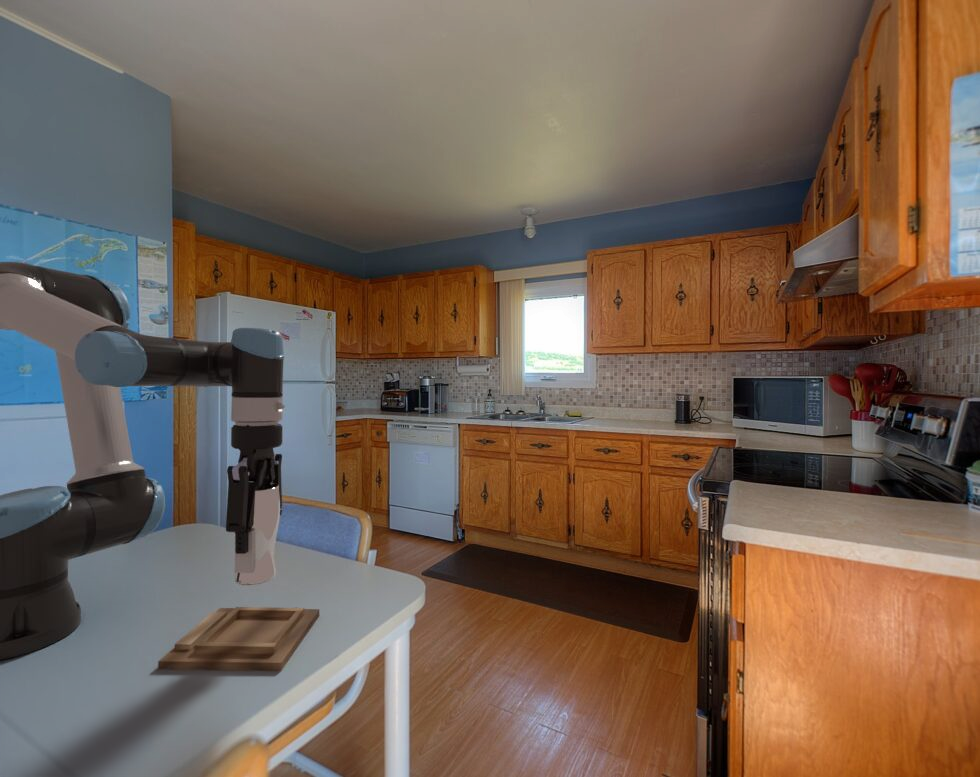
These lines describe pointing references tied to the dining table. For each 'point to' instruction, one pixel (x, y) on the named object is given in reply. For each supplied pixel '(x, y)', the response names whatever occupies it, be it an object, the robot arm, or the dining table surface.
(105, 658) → the dining table surface
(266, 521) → the beer glass
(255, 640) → the tray
